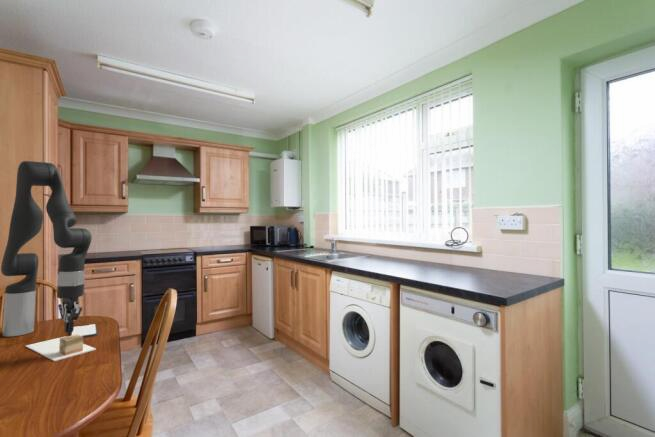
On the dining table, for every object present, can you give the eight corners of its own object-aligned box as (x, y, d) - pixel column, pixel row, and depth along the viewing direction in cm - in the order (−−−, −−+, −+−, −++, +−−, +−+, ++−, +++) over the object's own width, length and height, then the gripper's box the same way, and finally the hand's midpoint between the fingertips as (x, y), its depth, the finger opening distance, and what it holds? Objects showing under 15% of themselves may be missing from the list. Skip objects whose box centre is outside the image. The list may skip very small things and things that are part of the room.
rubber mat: (25, 346, 115) (25, 345, 115) (65, 337, 126) (65, 336, 126) (54, 361, 103) (54, 360, 103) (95, 349, 113) (95, 348, 113)
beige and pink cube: (66, 340, 107) (65, 355, 107) (83, 336, 111) (82, 350, 111) (59, 338, 109) (59, 352, 109) (76, 334, 114) (76, 348, 113)
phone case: (97, 337, 128) (96, 327, 141) (97, 333, 128) (96, 323, 141) (69, 341, 123) (71, 330, 135) (69, 337, 123) (71, 326, 135)
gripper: (50, 283, 112) (47, 331, 112) (66, 286, 106) (64, 338, 105) (75, 280, 119) (73, 326, 118) (92, 283, 112) (89, 332, 111)
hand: (68, 332), depth 111 cm, fingers closed
